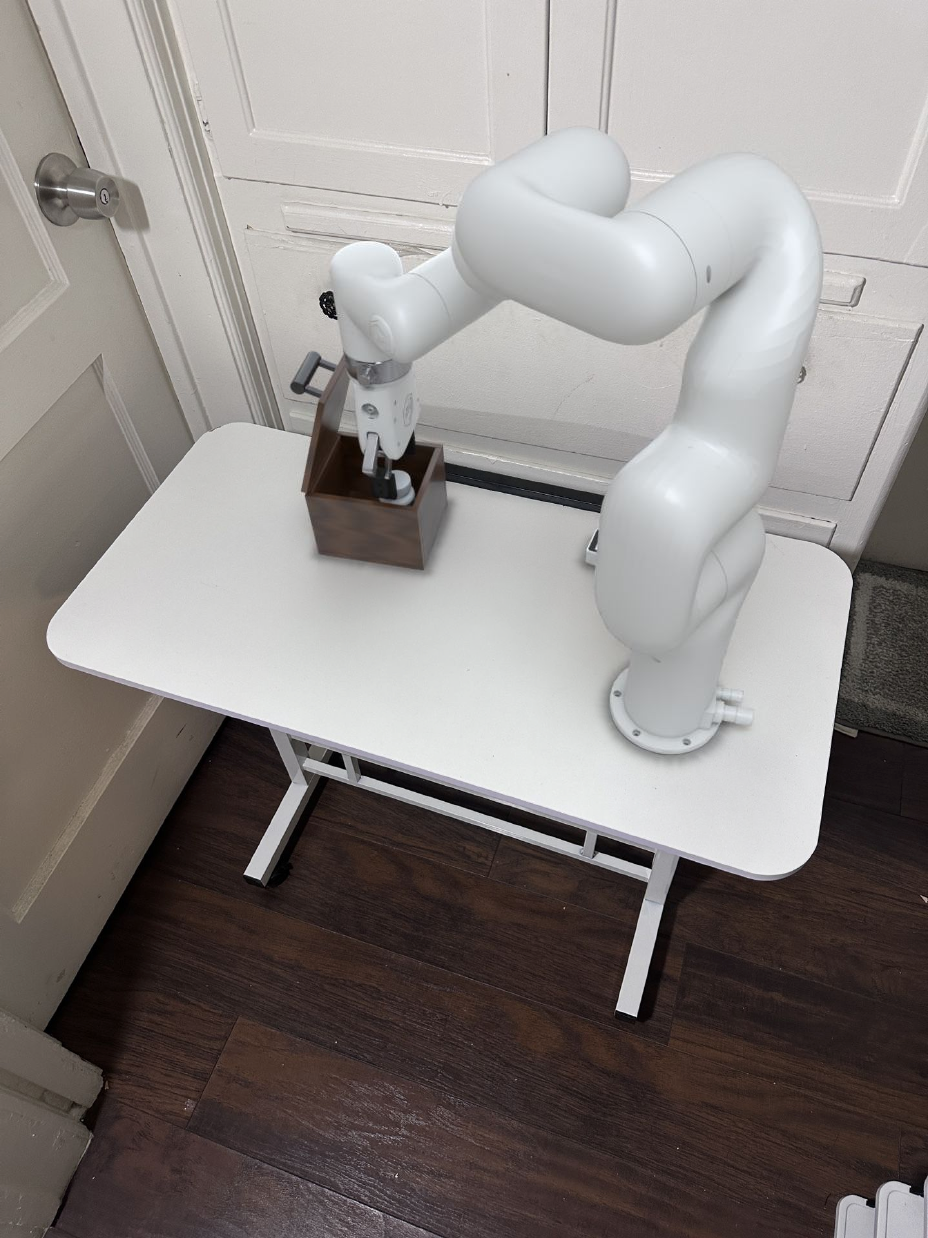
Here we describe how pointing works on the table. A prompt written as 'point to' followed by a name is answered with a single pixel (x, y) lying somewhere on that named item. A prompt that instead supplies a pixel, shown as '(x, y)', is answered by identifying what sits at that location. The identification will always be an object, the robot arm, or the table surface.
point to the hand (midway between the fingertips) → (394, 473)
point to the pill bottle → (402, 490)
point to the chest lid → (321, 409)
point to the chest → (376, 506)
